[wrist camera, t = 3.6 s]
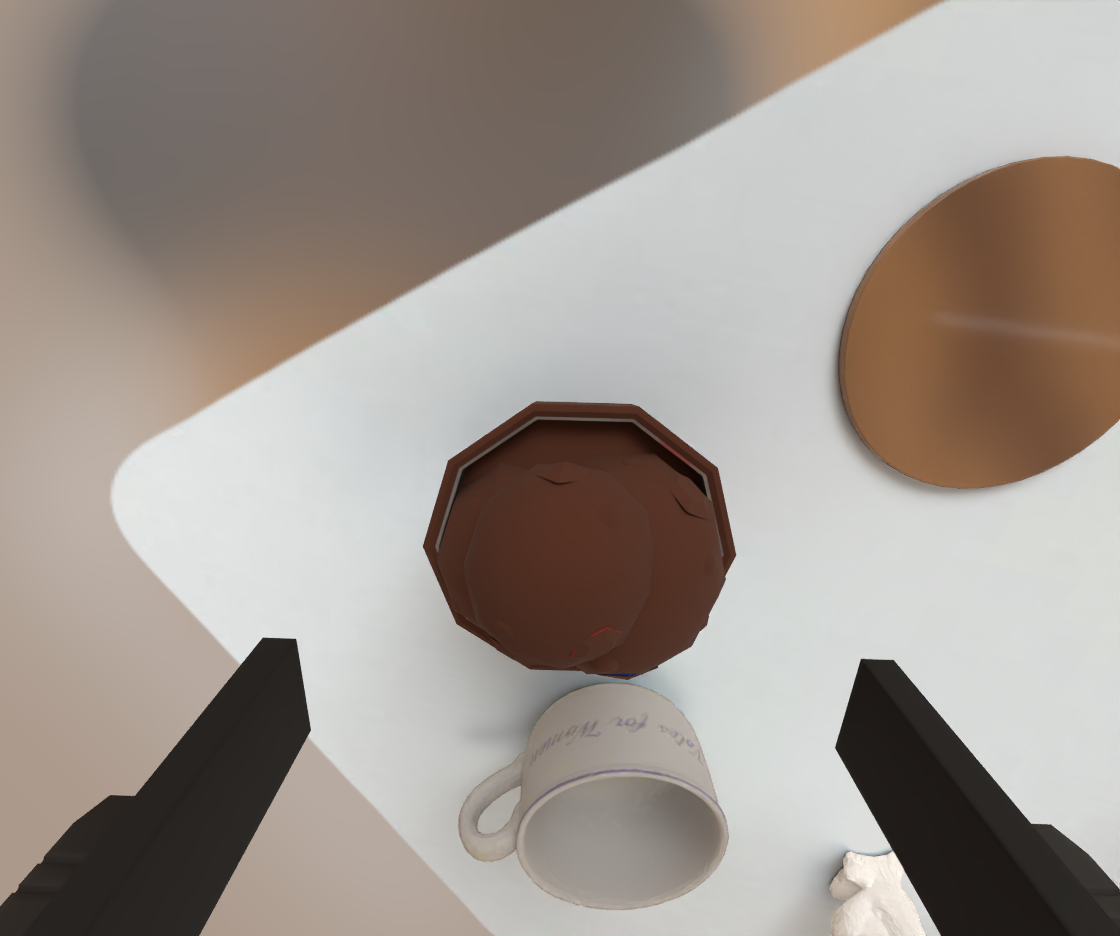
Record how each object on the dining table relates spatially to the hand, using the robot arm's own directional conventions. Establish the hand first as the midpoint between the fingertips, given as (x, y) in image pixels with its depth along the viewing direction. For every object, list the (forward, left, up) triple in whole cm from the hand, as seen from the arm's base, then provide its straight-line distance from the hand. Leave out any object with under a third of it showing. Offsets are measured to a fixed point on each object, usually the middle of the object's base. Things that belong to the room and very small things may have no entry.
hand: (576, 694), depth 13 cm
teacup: (+11, +14, -17) cm, 24 cm away
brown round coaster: (-19, +9, -16) cm, 27 cm away
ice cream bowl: (0, 0, -17) cm, 16 cm away
